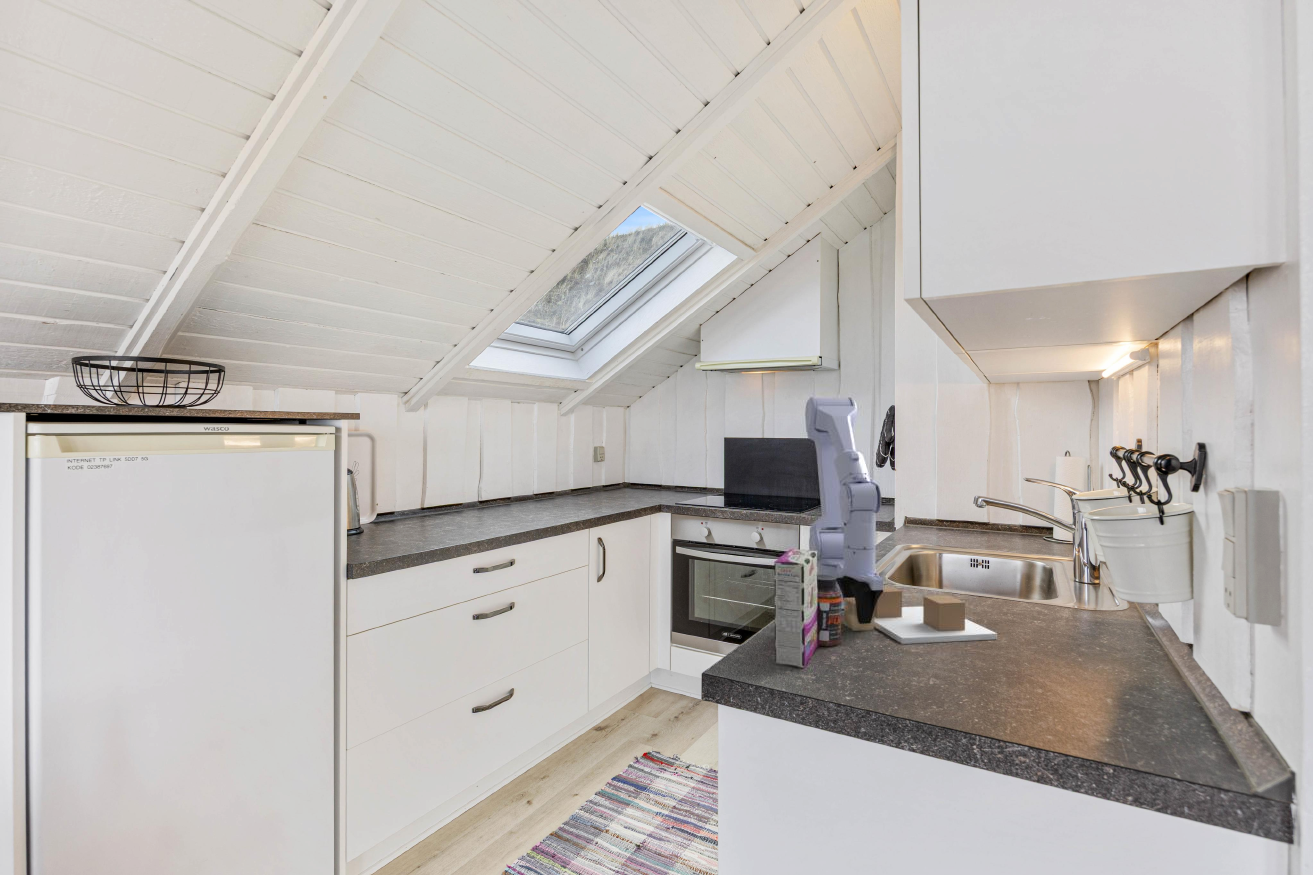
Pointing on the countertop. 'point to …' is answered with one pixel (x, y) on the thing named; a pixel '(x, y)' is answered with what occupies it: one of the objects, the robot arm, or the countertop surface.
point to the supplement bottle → (828, 611)
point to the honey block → (854, 616)
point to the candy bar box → (796, 607)
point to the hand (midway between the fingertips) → (858, 619)
